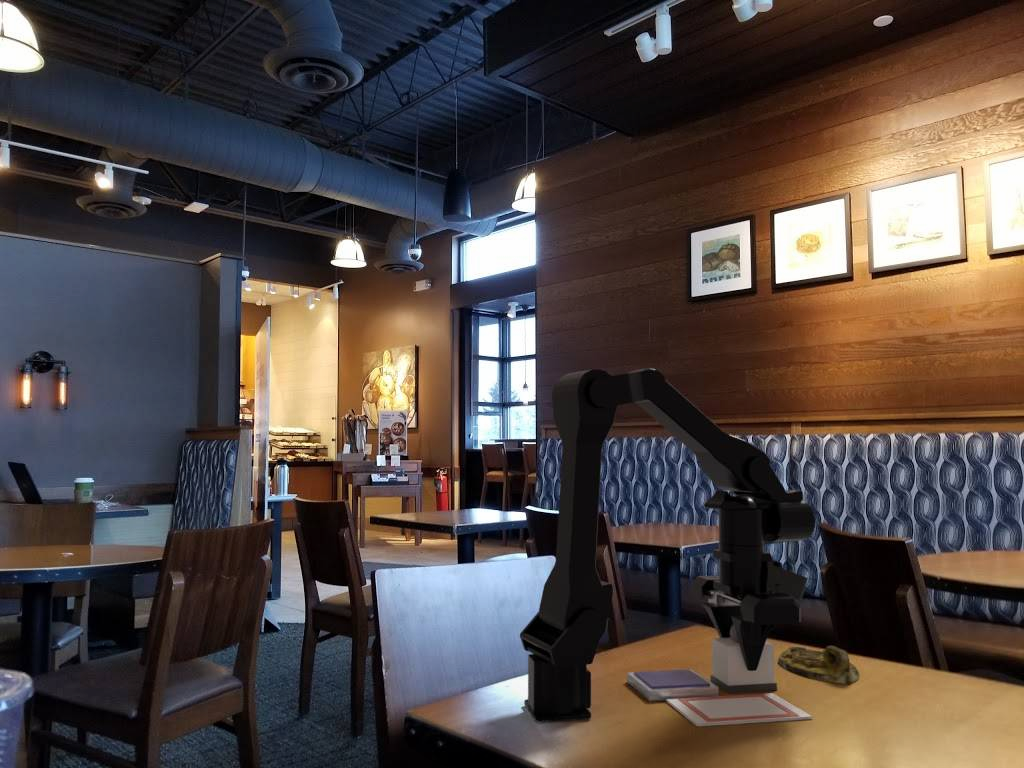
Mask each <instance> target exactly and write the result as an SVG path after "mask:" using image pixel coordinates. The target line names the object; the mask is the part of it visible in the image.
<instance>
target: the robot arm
mask: <svg viewBox="0 0 1024 768" xmlns="http://www.w3.org/2000/svg"><path fill="white" fill-rule="evenodd" d="M551 399H552V408H553V410H552V411H553V420H554V424H555V426H556V429H557V432H558V435H559V438H560V440H561V446H562V447H561V449H562V450H561V451H562V452H561V466H560V467H561V468H560V469H561V470H560V480H559V481H560V483H559V498H558V499H559V502H558V515H557V516H558V518H557V519H558V520H557V531H556V532H557V534H556V553H555V561H554V562H555V563H554V564H553V567H552V569H551V571H550V573H549V574H548V577H547V579H546V580H545V583H544V585H543V589H542V593H541V597H540V603H539V609H538V612H537V613H536V614H535V615H534V616H533V617H532V619H531V620H529V622H528V623H527V625H526V626H525V627H524V628H523V629H522V631H521V632H520V633H519V638H520V641H521V645H522V647H523V650H524V651H526V652H529V653H531V654H528V659H527V660H528V661H527V662H528V663H527V668H528V669H527V671H528V672H527V673H528V674H527V676H528V677H527V688H528V689H527V699H525V700H524V701H523V703H524V706H525V707H526V709H527V711H528V712H529V713H530V715H531V717H532V718H533V719H534V721H536V722H553V721H570V720H585V719H587V720H589V719H591V718H592V712H591V711H590V710H589V709H590V708H591V707H592V672H591V671H590V670H589V669H588V667H587V665H591V664H593V663H594V659H595V656H596V653H597V649H598V647H599V643H600V640H601V639H602V638H603V637H604V636H605V635H606V632H607V629H608V621H613V620H614V618H613V615H612V607H611V606H612V599H613V595H614V588H613V584H612V583H609V582H606V581H603V580H601V577H600V575H599V572H598V570H597V551H598V550H597V547H598V531H599V512H600V496H601V494H600V493H601V492H600V491H601V478H602V477H601V475H602V459H603V456H602V455H603V447H604V444H605V441H606V439H607V437H608V436H609V433H610V432H611V429H612V428H613V426H614V423H615V420H616V416H617V411H618V407H619V406H622V405H626V404H627V405H628V404H632V403H635V404H636V405H637V406H639V407H640V408H641V409H642V410H643V411H644V412H646V413H647V414H648V415H649V416H650V417H651V418H653V420H655V421H656V422H657V423H658V424H660V426H662V427H663V428H664V429H665V430H667V431H668V432H669V433H670V434H671V435H673V436H674V438H676V439H677V440H679V442H680V443H682V444H683V445H684V446H686V448H688V450H690V451H691V452H692V453H693V454H694V455H695V457H696V458H697V459H698V462H699V465H700V468H701V470H702V471H703V473H704V474H705V475H706V477H708V479H709V480H710V481H711V482H712V484H713V485H714V486H715V487H716V488H718V489H720V490H715V492H714V494H713V495H712V496H711V497H710V498H709V499H707V500H706V502H704V505H703V507H704V508H705V509H709V510H711V509H712V510H718V549H712V557H713V558H715V559H718V575H697V576H696V577H695V578H694V579H693V581H691V597H693V598H696V599H698V600H704V599H705V597H707V598H708V599H707V600H708V601H707V602H703V603H702V606H703V608H704V609H705V610H706V612H707V614H708V616H709V618H710V620H711V622H712V624H713V626H714V628H715V630H716V632H717V634H718V638H731V637H730V628H731V626H732V625H733V624H734V627H735V631H736V634H737V637H738V641H739V644H740V648H741V651H742V655H743V658H744V661H745V664H746V667H747V669H748V670H749V671H756V670H757V667H758V664H759V661H760V658H761V655H762V651H763V648H764V645H765V642H766V641H767V639H768V637H769V635H770V633H771V631H772V630H773V629H774V628H775V627H776V626H777V625H781V624H792V623H793V624H795V623H796V624H798V623H801V622H802V609H801V608H802V606H801V604H800V603H799V602H798V601H800V602H802V600H803V597H804V592H805V590H806V586H807V584H808V580H809V578H808V577H805V576H804V575H800V574H798V573H796V572H793V571H790V570H788V569H785V568H784V567H783V563H782V562H781V561H778V560H774V557H773V555H772V554H771V553H770V552H767V551H765V542H768V543H780V542H795V541H796V542H797V541H798V542H799V541H806V540H808V539H809V538H810V537H811V536H812V535H813V533H814V531H815V528H816V516H815V515H814V511H813V510H812V508H811V506H810V505H809V503H808V501H806V500H805V499H804V492H803V490H792V489H791V490H788V489H787V490H786V489H785V488H784V485H783V484H782V483H781V481H780V480H779V477H778V476H777V474H776V472H775V471H774V469H773V468H772V466H771V462H772V461H771V459H770V456H768V454H767V453H766V452H765V451H763V449H760V448H759V447H758V446H756V445H754V444H752V443H751V442H749V441H747V440H745V439H742V438H740V437H737V436H735V435H732V434H729V433H728V432H726V431H724V430H723V429H721V427H720V426H718V425H717V424H716V423H715V422H714V421H712V419H711V418H710V417H708V416H707V415H706V414H705V413H704V412H702V411H701V409H699V408H698V407H697V406H696V405H695V404H693V402H691V400H689V399H688V398H686V397H685V396H684V395H683V394H682V393H681V392H680V391H679V390H678V389H677V388H675V387H674V386H673V385H672V383H669V381H668V380H666V377H665V376H664V375H663V373H662V372H661V371H659V370H657V369H655V368H653V367H652V368H651V367H650V368H649V367H648V368H643V369H636V370H630V371H629V372H627V373H622V374H615V375H611V374H609V373H608V372H607V371H606V370H602V369H598V368H597V369H596V368H595V369H588V370H583V371H582V370H581V371H575V372H571V373H567V374H565V375H562V376H561V377H560V378H559V379H558V380H557V381H556V382H555V383H554V385H553V388H552V393H551ZM728 491H729V492H731V493H732V494H733V496H732V495H731V494H730V493H729V492H728Z"/></svg>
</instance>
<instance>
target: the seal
mask: <svg viewBox="0 0 1024 768" xmlns="http://www.w3.org/2000/svg"><path fill="white" fill-rule="evenodd" d="M777 660H778V661H777V662H778V664H779V665H780V666H781V667H783V669H785V670H788V671H789V672H792V673H795V674H796V675H799V676H803V677H806V678H809V679H812V680H818V681H823V682H827V683H829V682H830V683H835V684H845V685H851V684H853V683H855V682H858V680H860V677H861V676H860V672H859V670H858V669H857V667H856V666H855V665H854V664H852V663H851V662H850V658H849V654H848V652H847V651H846V650H845V649H841V648H839V647H837V646H835V645H828V646H826V648H824V649H822V651H821V650H813V649H807V648H806V647H800V646H790V647H788V648H787V649H786V650H785V651H782V652H781V653H780V654H779V655H778V659H777Z"/></svg>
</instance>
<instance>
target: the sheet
mask: <svg viewBox="0 0 1024 768" xmlns="http://www.w3.org/2000/svg"><path fill="white" fill-rule="evenodd" d="M665 702H666V703H667V704H668V705H670V706H671V707H673V709H674V710H676V712H678V713H680V714H681V716H684V717H685V719H687V720H688V721H689V722H690V723H692V724H693V725H695V726H696V727H709V726H710V727H711V726H725V725H727V726H728V725H741V724H753V723H755V724H756V723H770V722H771V723H772V722H787V721H801V720H802V721H803V720H812V719H813V716H812V715H810V714H808V713H807V712H805V711H804V710H801V709H800V708H798V707H797V706H795V705H793V704H792V703H789V702H788V701H786V700H785V699H783V698H781V697H779V696H778V695H777V694H775V693H773V692H772V693H771V692H769V693H756V694H751V693H750V694H734V695H719V696H715V697H697V698H680V699H666V700H665Z"/></svg>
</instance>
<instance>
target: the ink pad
mask: <svg viewBox="0 0 1024 768" xmlns="http://www.w3.org/2000/svg"><path fill="white" fill-rule="evenodd" d="M626 682H627V683H628V684H629V685H630V686H631V687H632V688H634V689H635V690H636V691H637V692H639V694H640V695H642V696H643V697H644V698H645V699H646V700H648V701H649V702H658V701H659V702H660V701H666V699H680V698H697V697H715V696H720V695H719V694H720V693H719V688H720V687H718V686H717V685H715V684H714V683H712V682H711V680H708V679H707V678H705V677H704V676H702V675H701V674H699V673H697V672H696V671H695V670H693V669H689V668H688V669H686V668H685V669H669V670H668V669H666V670H665V669H663V670H652V671H651V670H648V671H633V672H632V671H631V672H626Z"/></svg>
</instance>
